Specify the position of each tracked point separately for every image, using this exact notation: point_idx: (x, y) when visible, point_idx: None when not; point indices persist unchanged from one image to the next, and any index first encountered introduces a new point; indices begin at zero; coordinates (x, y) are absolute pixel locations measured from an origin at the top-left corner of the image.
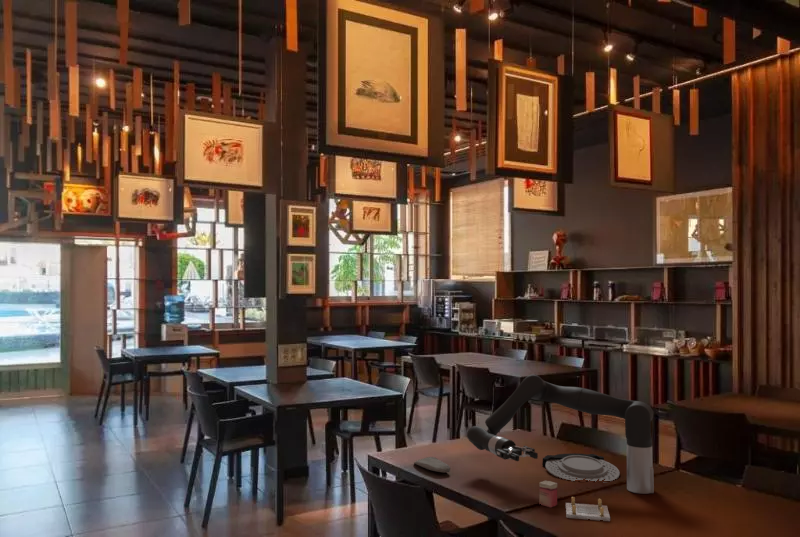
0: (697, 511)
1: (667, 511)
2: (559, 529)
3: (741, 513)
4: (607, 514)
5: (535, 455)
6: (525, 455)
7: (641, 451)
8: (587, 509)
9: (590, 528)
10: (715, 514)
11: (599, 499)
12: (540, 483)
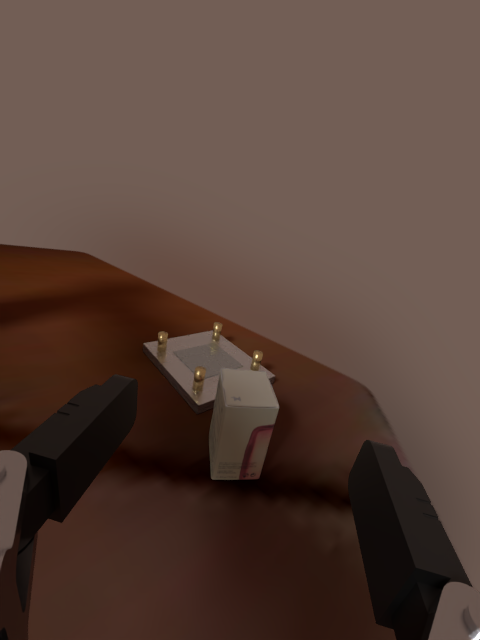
0: (54, 282)
1: (81, 300)
2: (334, 372)
3: (34, 262)
4: (201, 334)
5: (131, 402)
6: (25, 623)
7: None
8: (206, 358)
9: (274, 346)
10: (59, 274)
11: (164, 333)
12: (277, 406)
